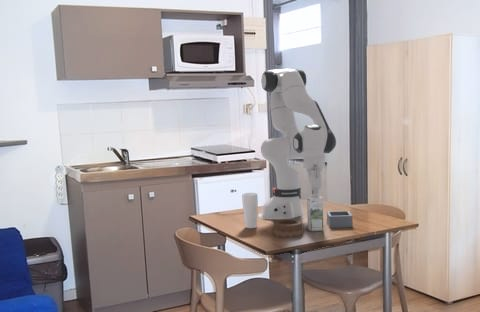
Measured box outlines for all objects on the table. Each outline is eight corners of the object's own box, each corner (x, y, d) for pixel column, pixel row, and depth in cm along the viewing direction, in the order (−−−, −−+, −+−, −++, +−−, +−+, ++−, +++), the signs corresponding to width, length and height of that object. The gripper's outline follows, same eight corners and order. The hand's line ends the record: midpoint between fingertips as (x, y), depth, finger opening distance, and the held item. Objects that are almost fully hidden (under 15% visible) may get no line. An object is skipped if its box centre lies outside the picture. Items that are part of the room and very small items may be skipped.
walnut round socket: (274, 238, 206) (273, 226, 206) (274, 230, 218) (273, 219, 217) (303, 237, 206) (303, 225, 205) (301, 229, 217) (301, 218, 217)
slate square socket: (329, 227, 219) (329, 216, 218) (327, 222, 228) (326, 211, 228) (352, 227, 218) (352, 215, 218) (349, 221, 228) (348, 210, 227)
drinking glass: (247, 230, 221) (245, 196, 219) (241, 226, 227) (239, 193, 226) (261, 227, 224) (259, 194, 222) (254, 224, 230) (253, 192, 228)
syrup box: (320, 227, 219) (319, 194, 218) (323, 231, 213) (323, 197, 212) (307, 228, 219) (306, 195, 217) (310, 232, 213) (309, 198, 212)
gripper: (324, 166, 202) (325, 200, 204) (319, 160, 223) (320, 191, 224) (308, 167, 203) (309, 201, 204) (304, 160, 223) (305, 191, 225)
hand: (315, 195), depth 215 cm, fingers open, 6 cm apart
